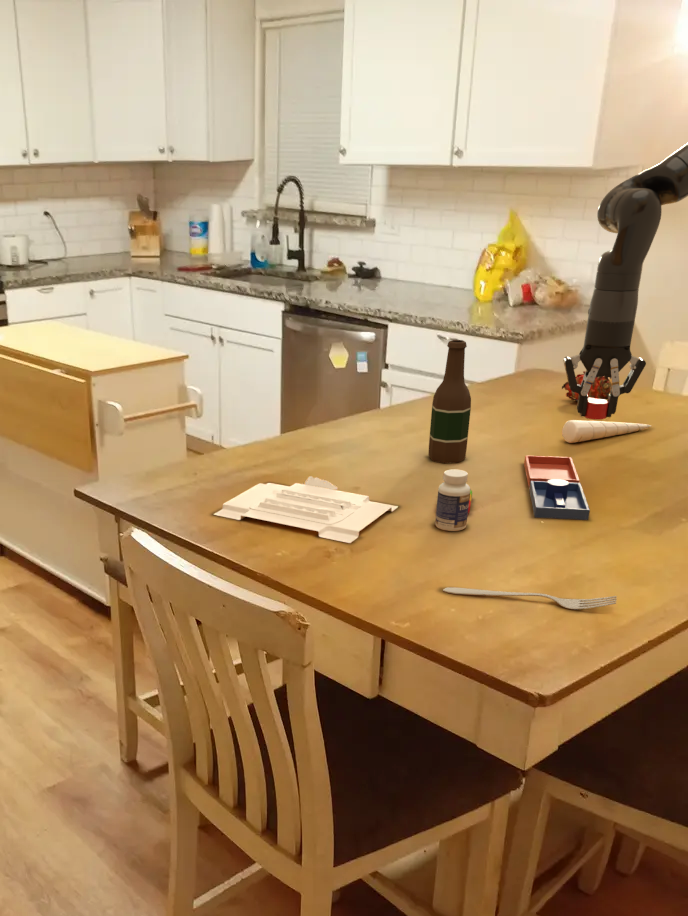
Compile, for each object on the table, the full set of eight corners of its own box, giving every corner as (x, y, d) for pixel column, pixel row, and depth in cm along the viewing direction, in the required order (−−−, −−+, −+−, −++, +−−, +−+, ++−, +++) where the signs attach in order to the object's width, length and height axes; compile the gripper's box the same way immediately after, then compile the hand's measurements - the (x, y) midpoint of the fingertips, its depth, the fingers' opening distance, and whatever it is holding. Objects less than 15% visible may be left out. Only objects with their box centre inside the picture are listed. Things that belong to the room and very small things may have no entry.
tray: (351, 543, 160) (351, 522, 159) (212, 520, 175) (211, 500, 173) (399, 506, 175) (399, 487, 174) (268, 487, 190) (267, 469, 188)
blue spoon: (544, 492, 178) (546, 478, 177) (565, 493, 177) (567, 479, 176) (549, 511, 170) (551, 497, 168) (571, 513, 169) (573, 498, 167)
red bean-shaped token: (607, 419, 168) (610, 404, 167) (585, 419, 169) (587, 403, 168) (599, 405, 177) (601, 390, 176) (577, 404, 178) (580, 389, 176)
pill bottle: (461, 534, 163) (467, 479, 158) (430, 529, 165) (435, 475, 160) (470, 523, 167) (476, 470, 162) (440, 518, 169) (445, 466, 165)
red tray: (570, 466, 193) (571, 457, 192) (578, 489, 180) (579, 480, 179) (524, 464, 195) (525, 455, 194) (528, 487, 182) (529, 478, 181)
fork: (444, 585, 145) (445, 575, 144) (614, 605, 137) (616, 594, 136) (441, 594, 142) (442, 583, 141) (615, 615, 135) (617, 604, 134)
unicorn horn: (663, 432, 211) (667, 411, 208) (572, 446, 204) (576, 424, 202) (648, 427, 215) (652, 406, 212) (559, 440, 208) (562, 418, 206)
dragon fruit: (612, 413, 231) (561, 414, 238) (618, 386, 235) (567, 388, 241) (609, 389, 225) (556, 391, 231) (615, 362, 228) (563, 365, 234)
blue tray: (579, 492, 179) (580, 482, 178) (588, 520, 167) (589, 510, 166) (529, 490, 181) (530, 480, 180) (534, 517, 168) (536, 507, 168)
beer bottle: (463, 465, 195) (475, 345, 184) (424, 462, 198) (434, 344, 186) (467, 454, 201) (479, 337, 190) (430, 451, 204) (440, 336, 193)
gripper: (570, 319, 160) (555, 420, 168) (660, 320, 157) (641, 422, 166) (565, 312, 167) (551, 409, 175) (651, 312, 164) (633, 411, 172)
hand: (595, 415), depth 170 cm, fingers closed on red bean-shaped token, 3 cm apart
